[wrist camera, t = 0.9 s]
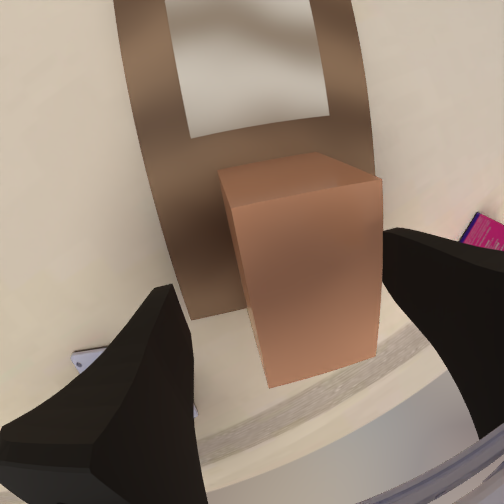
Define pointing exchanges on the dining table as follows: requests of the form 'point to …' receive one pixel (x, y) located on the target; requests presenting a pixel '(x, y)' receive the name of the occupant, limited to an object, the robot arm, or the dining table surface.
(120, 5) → the walnut board
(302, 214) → the terracotta cover
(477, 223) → the supplement box
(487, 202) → the dining table surface
